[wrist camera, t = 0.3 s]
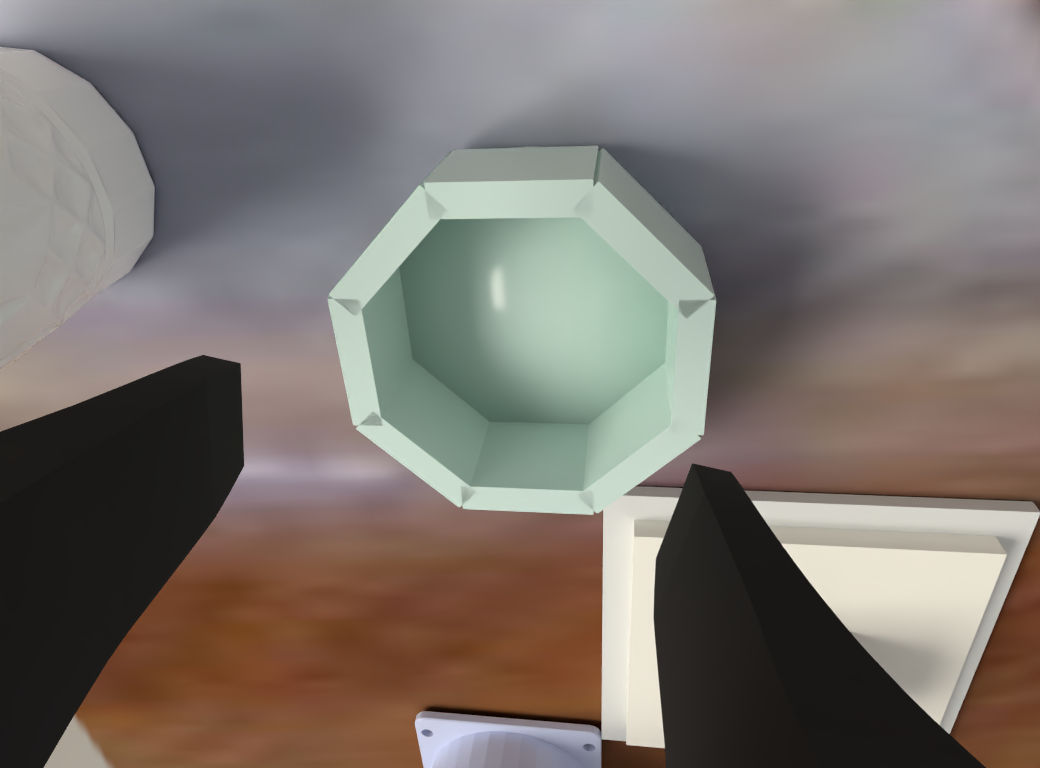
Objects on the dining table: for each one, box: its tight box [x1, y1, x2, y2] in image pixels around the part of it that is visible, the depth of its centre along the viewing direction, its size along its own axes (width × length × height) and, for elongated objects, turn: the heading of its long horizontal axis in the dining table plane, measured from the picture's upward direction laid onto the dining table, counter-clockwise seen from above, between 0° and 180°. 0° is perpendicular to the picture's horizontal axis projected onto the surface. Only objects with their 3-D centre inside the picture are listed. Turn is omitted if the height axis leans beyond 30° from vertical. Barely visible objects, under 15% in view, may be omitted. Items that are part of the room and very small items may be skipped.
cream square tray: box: [601, 486, 1040, 741], centre depth 26 cm, size 13×13×1 cm
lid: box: [626, 520, 1007, 748], centre depth 23 cm, size 11×11×5 cm
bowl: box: [328, 146, 716, 515], centre depth 19 cm, size 9×9×4 cm
